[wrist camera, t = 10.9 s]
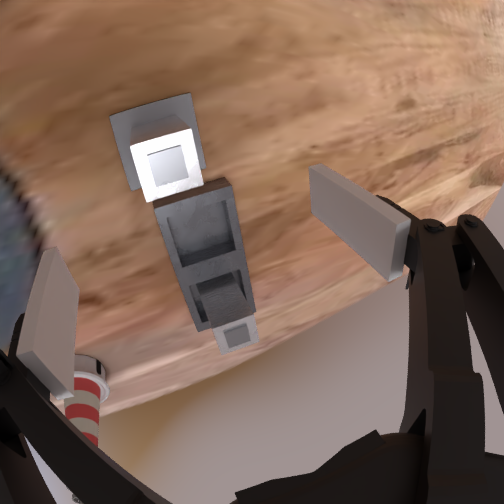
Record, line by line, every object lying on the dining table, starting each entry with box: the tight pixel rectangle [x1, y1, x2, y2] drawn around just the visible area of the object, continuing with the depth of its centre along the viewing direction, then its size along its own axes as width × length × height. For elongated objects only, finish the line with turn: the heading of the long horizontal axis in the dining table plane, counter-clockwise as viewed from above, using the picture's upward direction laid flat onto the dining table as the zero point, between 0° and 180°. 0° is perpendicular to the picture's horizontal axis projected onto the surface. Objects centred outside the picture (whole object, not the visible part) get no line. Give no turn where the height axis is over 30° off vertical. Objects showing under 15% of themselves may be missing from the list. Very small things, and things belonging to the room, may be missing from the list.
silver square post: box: [196, 272, 259, 355], centre depth 41 cm, size 5×5×10 cm
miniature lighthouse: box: [64, 355, 110, 504], centre depth 34 cm, size 9×9×30 cm
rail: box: [153, 177, 256, 332], centre depth 42 cm, size 20×9×3 cm, turn 9°
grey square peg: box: [130, 115, 204, 202], centre depth 29 cm, size 5×5×10 cm
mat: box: [109, 93, 206, 191], centre depth 33 cm, size 9×9×1 cm
